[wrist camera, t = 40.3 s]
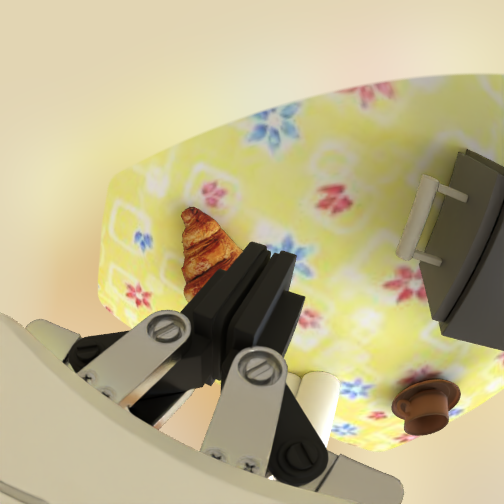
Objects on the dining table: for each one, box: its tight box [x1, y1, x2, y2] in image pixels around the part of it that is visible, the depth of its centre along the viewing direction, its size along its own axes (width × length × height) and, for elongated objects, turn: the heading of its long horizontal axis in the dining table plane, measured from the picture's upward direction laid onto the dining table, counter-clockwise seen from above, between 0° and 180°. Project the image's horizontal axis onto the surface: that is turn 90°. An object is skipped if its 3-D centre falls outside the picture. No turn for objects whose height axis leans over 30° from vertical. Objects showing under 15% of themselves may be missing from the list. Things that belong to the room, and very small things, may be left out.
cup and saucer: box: [392, 379, 461, 436], centre depth 32 cm, size 12×12×6 cm
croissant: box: [181, 207, 243, 302], centre depth 34 cm, size 21×10×8 cm, turn 23°
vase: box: [286, 371, 340, 447], centre depth 34 cm, size 11×7×20 cm, turn 115°
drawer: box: [396, 152, 504, 322], centre depth 18 cm, size 19×12×9 cm, turn 84°
